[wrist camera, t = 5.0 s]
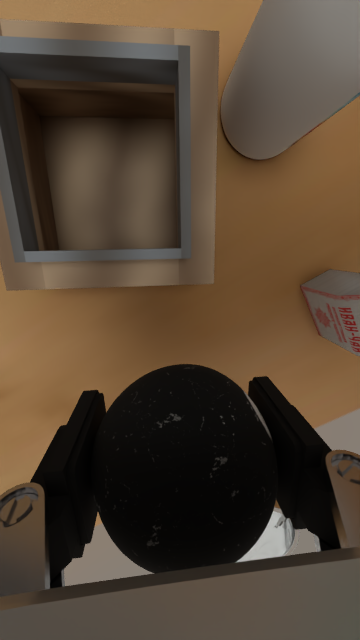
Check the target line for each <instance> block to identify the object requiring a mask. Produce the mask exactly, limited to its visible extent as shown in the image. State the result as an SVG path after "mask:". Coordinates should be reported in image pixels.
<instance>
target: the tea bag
mask: <svg viewBox="0 0 360 640" xmlns="http://www.w3.org/2000/svg"><path fill="white" fill-rule="evenodd" d="M300 287H301V289H302V292H303V294H304V297H305V299H306V302H307V305H308V307H309V310H310V312H311V315H312V317H313V320H314V323H315V325H316V328H317V330H318V333H319V335H320V336H322V337H324V338H326V339H328V340H329V341H331V342H333V343H335V344H337V345H339V346H340V347H342V348H344V349H346V350H348V351H350V352H352V353H353V354H355V355H357V356H360V273H355V272H347V271H340V270H332V269H330V270H328V271H326V272H324V273H322V274H321V275H319V276H317V277H315V278H313V279H311V280H310V281H308V282H306V283H304V284H302V285H300Z"/></svg>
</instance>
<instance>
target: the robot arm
mask: <svg viewBox="0 0 360 640" xmlns="http://www.w3.org/2000/svg"><path fill="white" fill-rule="evenodd" d="M248 396H249V397H250V399H251V400H252V401H253V403H254V404H255V406H256V407H257V409H258V410H259V412H260V413H261V415H262V417H263V419H264V421H265V423H266V425H267V427H268V430H269V432H270V435H271V438H272V441H273V444H274V448H275V453H276V458H277V466H278V491H277V497H276V500H277V502H278V505H279V507H280V509H281V511H282V513H283V515H284V517H285V518H290V520H291V522H292V524H293V526H294V528H295V530H298V529H305V528H307V529H308V531H310V532H311V533H313V534H314V540H315V545H316V550H317V552H311V553H304V554H296V555H288V556H280V557H273V558H265V559H258V560H250V561H243V562H235V563H228V564H221V565H213V566H206V567H199V568H191V569H184V570H177V571H170V572H162V573H155V574H148V575H141V576H134V577H127V578H120V579H113V580H106V581H99V582H93V583H85V584H78V585H72V586H65V581H64V568H65V567H66V566H67V565H68V564H69V563H70V562H71V561H72V558H80V557H82V555H83V551H84V547H85V544H87V543H90V542H91V539H92V535H93V530H94V526H95V521H96V517H97V512H98V510H97V507H96V503H95V499H94V494H93V489H92V480H91V458H92V451H93V445H94V441H95V437H96V434H97V431H98V429H99V426H100V424H101V422H102V420H103V418H104V416H105V414H106V409H105V402H104V395H103V393H99V392H98V390H91V391H83V393H82V395H81V397H80V399H79V401H78V403H77V405H76V407H75V409H74V411H73V413H72V415H71V417H70V419H69V421H68V423H67V425H62V426H60V427H59V429H58V431H57V432H56V434H55V436H54V438H53V440H52V442H51V444H50V446H49V447H48V449H47V451H46V453H45V455H44V457H43V459H42V461H41V462H40V464H39V466H38V468H37V470H36V472H35V474H34V476H33V477H32V479H31V481H30V483H23V484H20V485H17V486H15V487H13V488H11V489H9V490H7V491H6V492H4V493H3V494H2V495H0V640H360V455H358V454H356V453H353V452H350V451H346V450H335V451H332V450H331V449H330V448H329V446H328V445H327V444H326V443H325V442H324V441H323V439H322V438H321V437H320V436H319V435H318V434H317V432H316V431H315V430H314V429H313V428H312V426H311V425H310V424H309V423H308V422H307V421H306V419H305V418H304V417H303V416H302V415H301V414H300V412H299V411H298V410H297V409H296V408H295V407H294V406H293V405H291V404H290V403H289V402H288V401H287V399H286V398H285V397H284V396H283V395H282V393H281V392H280V391H279V390H278V389H277V387H276V386H275V385H274V384H273V383H272V381H271V380H270V379H269V378H268V377H267V376H264V377H254V378H253V381H249V391H248Z"/></svg>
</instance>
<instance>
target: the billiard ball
mask: <svg viewBox="0 0 360 640" xmlns="http://www.w3.org/2000/svg"><path fill="white" fill-rule="evenodd" d="M91 480H92V489H93V494H94V499H95V503H96V507H97V510H98V512H99V515H100V518H101V521H102V523H103V525H104V527H105V529H106V530H107V532H108V534H109V536H110V537H111V539H112V540H113V542H114V543H115V544H116V546H117V547H118V548H119V549H120V550H121V552H122V553H123V554H125V556H127V557H128V558H129V559H130V560H131V561H133V562H134V563H135V564H137V565H139V566H140V567H142V568H144V569H146V570H148V571H150V572H152V573H162V572H170V571H177V570H184V569H191V568H199V567H206V566H213V565H221V564H228V563H235V562H237V561H238V560H240V559H241V558H242V557H243V556H244V555H245V554H246V553H247V552H249V551H250V549H251V548H252V547H253V546H254V545H255V544H256V542H257V541H258V540H259V538H260V537H261V535H262V534H263V532H264V530H265V529H266V527H267V525H268V523H269V521H270V518H271V516H272V513H273V510H274V506H275V502H276V497H277V491H278V466H277V458H276V453H275V448H274V444H273V441H272V438H271V435H270V432H269V430H268V427H267V425H266V423H265V421H264V419H263V417H262V415H261V413H260V412H259V410H258V409H257V407H256V406H255V404H254V403H253V401H252V400H251V399H250V397H249V396H248V395H247V394H246V393H245V392H244V391H243V390H242V389H241V388H240V387H239V386H238V385H237V384H236V383H235V382H233V381H232V380H231V379H229V378H228V377H226V376H225V375H223V374H221V373H219V372H218V371H215V370H213V369H210V368H208V367H204V366H200V365H192V364H179V365H172V366H167V367H163V368H160V369H157V370H154V371H152V372H150V373H148V374H146V375H144V376H142V377H141V378H139V379H138V380H136V381H135V382H134V383H132V384H131V385H130V386H129V387H127V388H126V389H125V390H124V391H123V392H122V393H121V394H120V395H119V396H118V397H117V399H116V400H115V401H114V402H113V404H112V405H111V406H110V408H109V409H108V411H107V413H106V414H105V416H104V418H103V420H102V422H101V424H100V426H99V429H98V431H97V434H96V437H95V441H94V445H93V451H92V458H91Z"/></svg>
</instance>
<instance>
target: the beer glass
mask: <svg viewBox="0 0 360 640" xmlns="http://www.w3.org/2000/svg"><path fill="white" fill-rule="evenodd" d="M299 537H300V530H299V529H298V530H295V528H294V526H293V524H292V522H291V520H290V518H285V517H284V515H283V513H282V511H281V509H280V507H279V505H278V502H277V500H276V502H275V506H274V510H273V513H272V516H271V518H270V521H269V523H268V525H267V527H266V529H265V530H264V532H263V534H262V535H261V537H260V538H259V540H258V541H257V542H256V544H255V545H254V546H253V547H252V548H251V549H250V551H249V552H247V553H246V554H245V555H244V556H243V557H242V558H241V559H240V560H238V561H237V562H243V561H250V560H258V559H265V558H273V557H280V556H288V555H291V554H292V553H293V551H294V550H295V548H296V546H297V544H298V541H299Z"/></svg>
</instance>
